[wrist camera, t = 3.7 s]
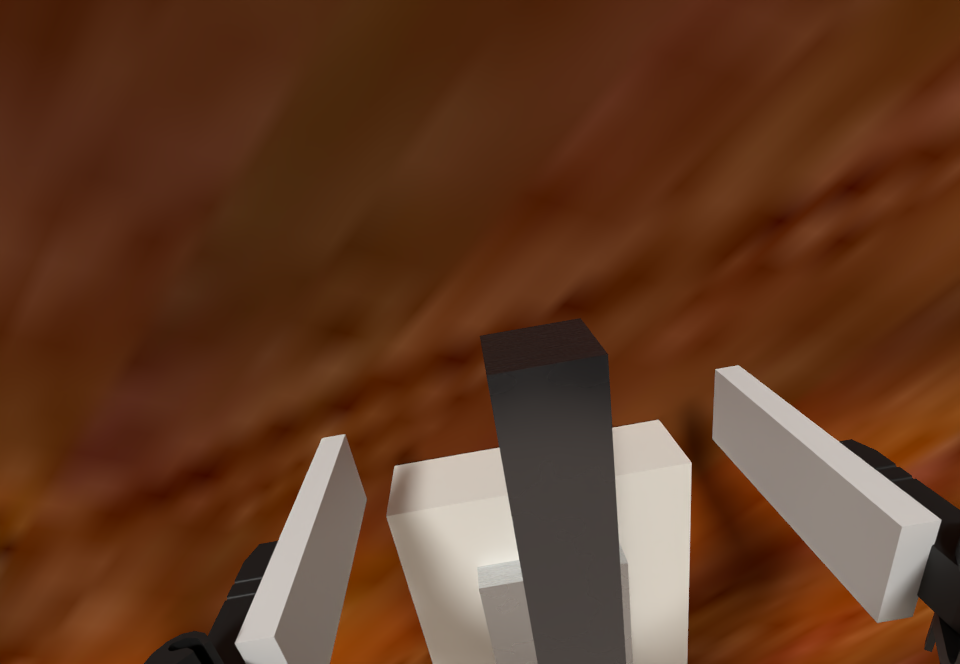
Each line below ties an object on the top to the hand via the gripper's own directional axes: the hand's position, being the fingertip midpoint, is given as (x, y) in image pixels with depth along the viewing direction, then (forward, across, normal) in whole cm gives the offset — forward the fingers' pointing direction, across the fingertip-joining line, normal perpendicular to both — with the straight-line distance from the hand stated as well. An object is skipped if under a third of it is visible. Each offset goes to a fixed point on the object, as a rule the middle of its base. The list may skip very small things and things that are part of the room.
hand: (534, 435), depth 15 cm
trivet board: (+4, 0, +12) cm, 13 cm away
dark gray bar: (+1, 0, +7) cm, 7 cm away
